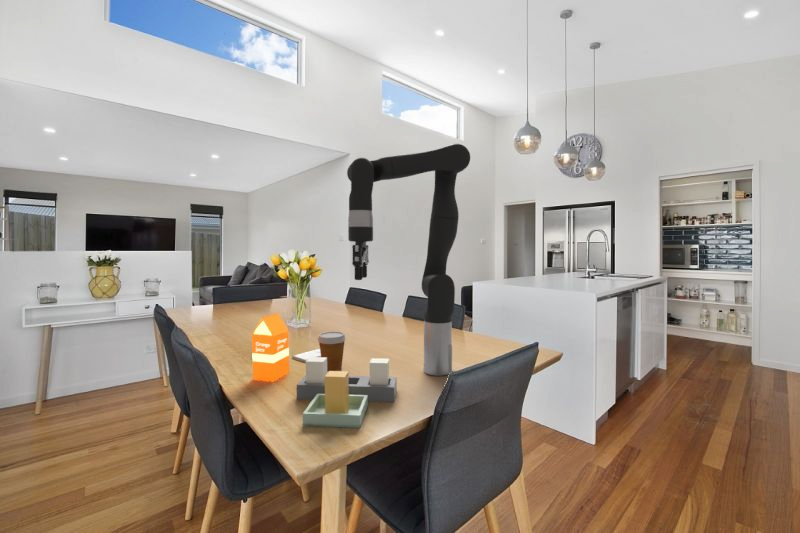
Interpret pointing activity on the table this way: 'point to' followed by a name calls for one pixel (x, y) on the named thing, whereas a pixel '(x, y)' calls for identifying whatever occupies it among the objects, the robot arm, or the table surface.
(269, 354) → the orange juice
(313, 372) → the fuse
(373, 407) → the table surface
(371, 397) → the rack
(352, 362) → the table surface
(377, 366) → the fuse
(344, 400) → the tan rectangular block
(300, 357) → the external hard drive
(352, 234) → the robot arm
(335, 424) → the tray
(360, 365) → the table surface
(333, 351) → the disposable coffee cup
